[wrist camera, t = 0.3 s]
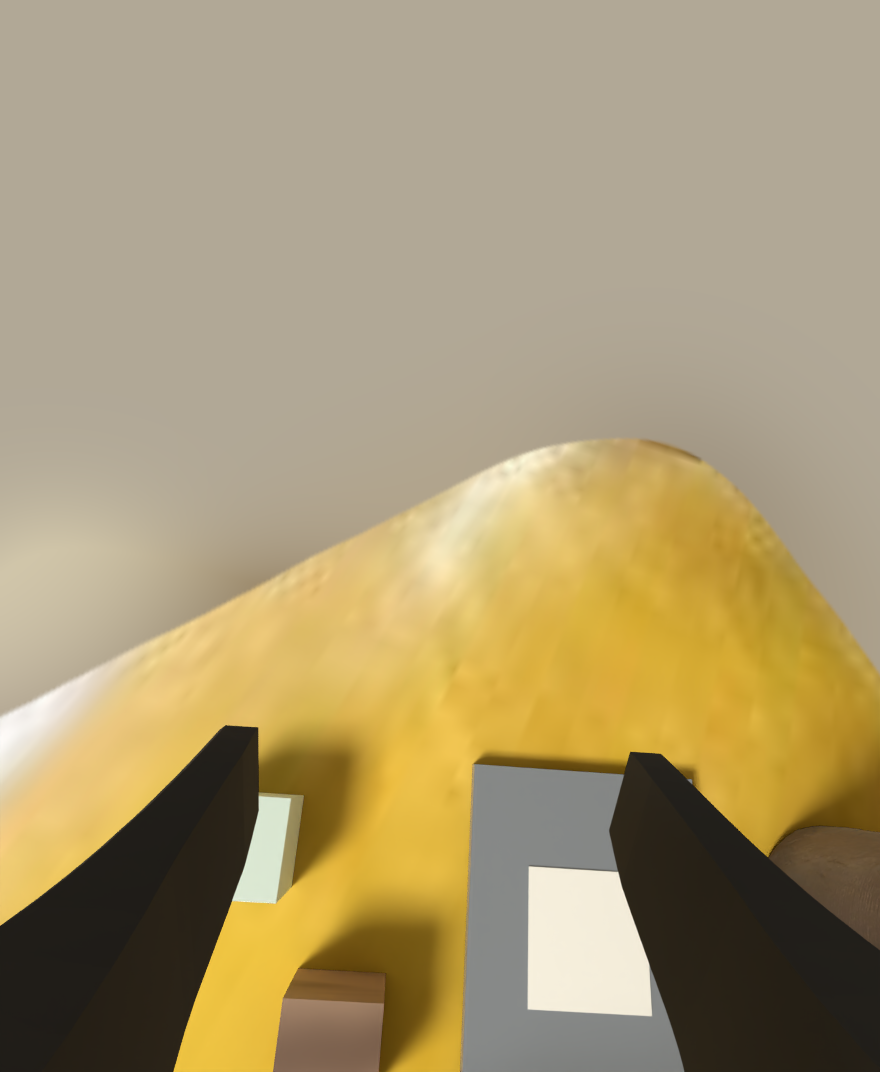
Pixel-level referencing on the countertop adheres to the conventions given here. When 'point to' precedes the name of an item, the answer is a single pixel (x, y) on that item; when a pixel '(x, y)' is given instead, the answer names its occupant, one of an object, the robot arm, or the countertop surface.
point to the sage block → (271, 849)
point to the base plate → (554, 933)
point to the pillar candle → (837, 873)
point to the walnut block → (331, 1022)
